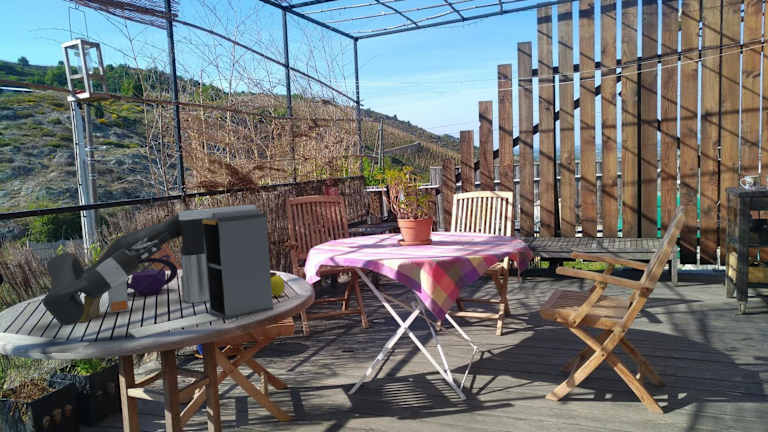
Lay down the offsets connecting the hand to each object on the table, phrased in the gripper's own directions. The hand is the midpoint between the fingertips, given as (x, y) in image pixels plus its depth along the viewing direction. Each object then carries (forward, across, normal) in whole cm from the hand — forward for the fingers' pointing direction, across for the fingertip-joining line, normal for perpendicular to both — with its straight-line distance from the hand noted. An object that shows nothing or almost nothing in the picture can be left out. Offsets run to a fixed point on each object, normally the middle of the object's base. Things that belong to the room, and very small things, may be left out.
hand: (165, 234), depth 163 cm
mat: (-14, 0, +24) cm, 28 cm away
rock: (-29, +33, +16) cm, 47 cm away
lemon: (+20, +8, +44) cm, 49 cm away
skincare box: (-20, +35, +21) cm, 46 cm away
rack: (+5, 0, +36) cm, 36 cm away
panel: (+17, 0, +5) cm, 18 cm away
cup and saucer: (+23, +23, +46) cm, 57 cm away
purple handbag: (-7, +56, +29) cm, 63 cm away
